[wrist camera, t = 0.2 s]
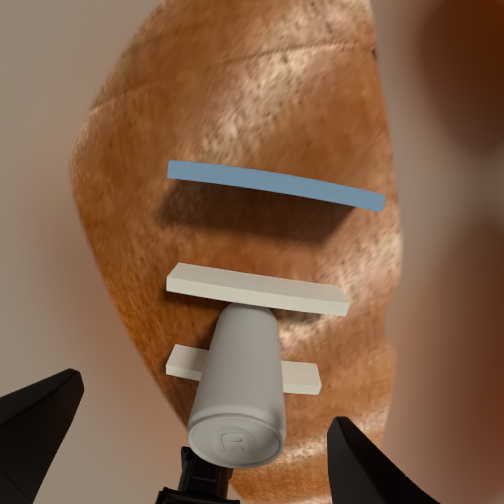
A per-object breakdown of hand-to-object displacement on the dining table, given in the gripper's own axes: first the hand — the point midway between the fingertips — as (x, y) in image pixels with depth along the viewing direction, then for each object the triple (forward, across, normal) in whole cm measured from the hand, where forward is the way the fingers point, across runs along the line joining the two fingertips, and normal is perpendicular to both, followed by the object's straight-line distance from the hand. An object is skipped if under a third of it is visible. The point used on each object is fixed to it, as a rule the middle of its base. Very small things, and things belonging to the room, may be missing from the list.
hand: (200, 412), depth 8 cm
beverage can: (+14, -2, +4) cm, 15 cm away
